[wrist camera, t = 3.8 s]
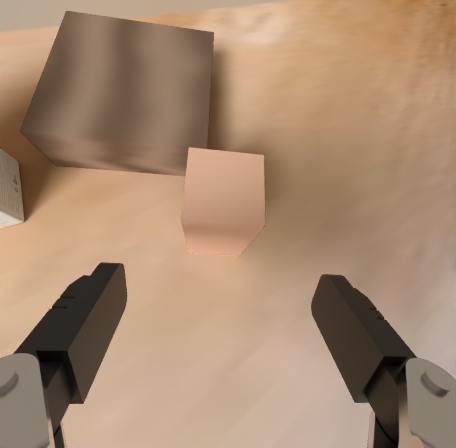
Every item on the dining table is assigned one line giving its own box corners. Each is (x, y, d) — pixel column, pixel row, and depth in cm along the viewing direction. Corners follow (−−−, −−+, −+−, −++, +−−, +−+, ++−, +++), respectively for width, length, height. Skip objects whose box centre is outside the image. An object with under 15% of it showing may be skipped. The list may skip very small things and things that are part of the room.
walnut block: (211, 77, 28) (213, 32, 23) (205, 179, 23) (206, 148, 19) (89, 62, 27) (66, 10, 22) (58, 167, 22) (19, 131, 17)
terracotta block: (239, 210, 22) (263, 155, 14) (238, 256, 21) (265, 225, 12) (192, 206, 22) (188, 147, 13) (188, 253, 20) (181, 219, 12)
